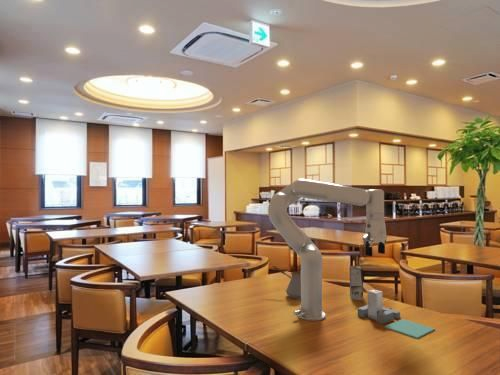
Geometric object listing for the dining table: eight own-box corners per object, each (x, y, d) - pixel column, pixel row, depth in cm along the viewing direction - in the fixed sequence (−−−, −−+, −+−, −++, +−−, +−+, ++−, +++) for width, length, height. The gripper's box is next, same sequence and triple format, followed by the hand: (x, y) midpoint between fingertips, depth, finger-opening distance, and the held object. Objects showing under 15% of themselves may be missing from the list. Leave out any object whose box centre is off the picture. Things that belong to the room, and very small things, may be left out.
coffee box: (363, 300, 185) (363, 269, 185) (350, 299, 186) (350, 268, 186) (361, 295, 194) (361, 265, 194) (349, 294, 195) (349, 265, 195)
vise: (383, 324, 152) (382, 316, 152) (357, 315, 162) (357, 308, 162) (403, 315, 162) (403, 308, 162) (378, 308, 172) (378, 301, 172)
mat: (417, 338, 137) (417, 337, 137) (384, 327, 148) (384, 326, 148) (434, 330, 145) (434, 328, 145) (402, 320, 156) (402, 318, 156)
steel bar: (376, 320, 156) (376, 293, 156) (367, 317, 160) (367, 290, 160) (382, 318, 159) (382, 291, 159) (373, 315, 163) (373, 289, 163)
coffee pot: (311, 296, 193) (310, 268, 193) (301, 301, 183) (301, 272, 184) (277, 289, 205) (277, 263, 205) (266, 294, 196) (266, 267, 196)
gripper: (371, 218, 152) (371, 258, 152) (393, 216, 162) (393, 253, 162) (356, 217, 158) (356, 255, 158) (378, 215, 168) (378, 251, 168)
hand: (375, 254), depth 160 cm, fingers open, 9 cm apart
